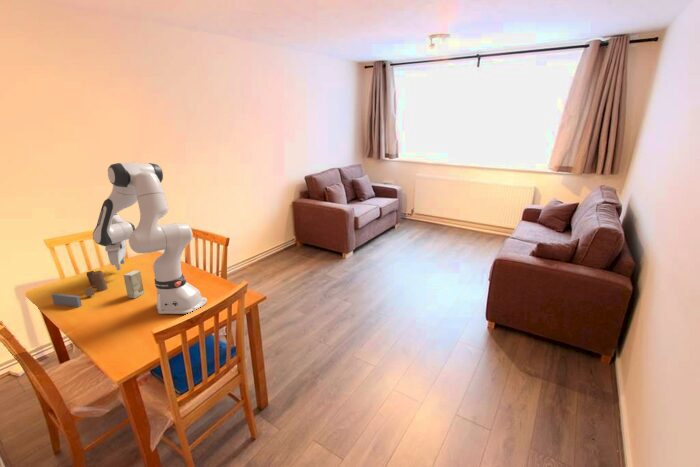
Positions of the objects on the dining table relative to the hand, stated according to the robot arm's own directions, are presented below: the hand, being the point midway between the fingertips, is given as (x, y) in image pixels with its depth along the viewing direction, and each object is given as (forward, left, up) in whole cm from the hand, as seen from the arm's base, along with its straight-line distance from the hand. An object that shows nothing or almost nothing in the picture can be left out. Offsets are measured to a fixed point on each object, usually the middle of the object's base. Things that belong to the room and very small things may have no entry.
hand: (121, 266), depth 186 cm
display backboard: (0, +32, -6) cm, 33 cm away
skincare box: (-24, +18, -7) cm, 31 cm away
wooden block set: (0, +16, -7) cm, 18 cm away
